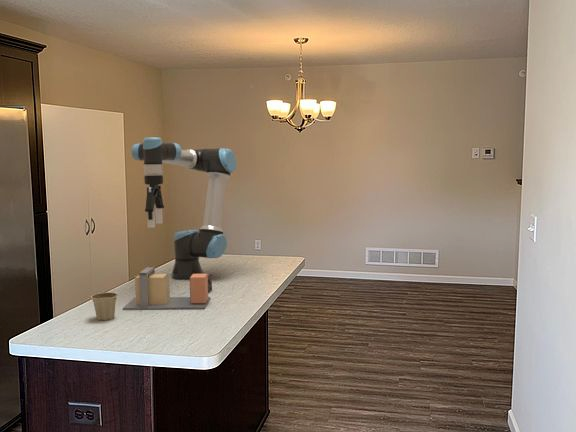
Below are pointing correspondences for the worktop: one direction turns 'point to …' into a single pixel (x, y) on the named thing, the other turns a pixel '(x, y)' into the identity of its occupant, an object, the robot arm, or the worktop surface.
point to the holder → (157, 294)
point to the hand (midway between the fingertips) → (155, 225)
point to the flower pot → (104, 305)
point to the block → (198, 288)
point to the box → (209, 282)
